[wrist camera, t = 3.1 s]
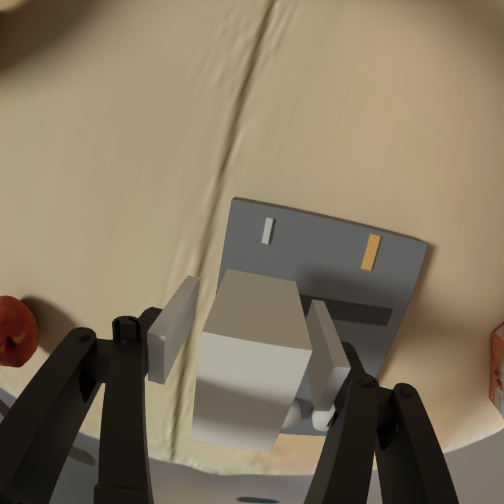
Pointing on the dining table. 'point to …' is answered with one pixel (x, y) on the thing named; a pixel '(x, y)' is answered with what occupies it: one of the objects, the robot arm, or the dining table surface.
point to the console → (328, 280)
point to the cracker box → (497, 370)
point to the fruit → (16, 332)
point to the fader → (249, 362)
